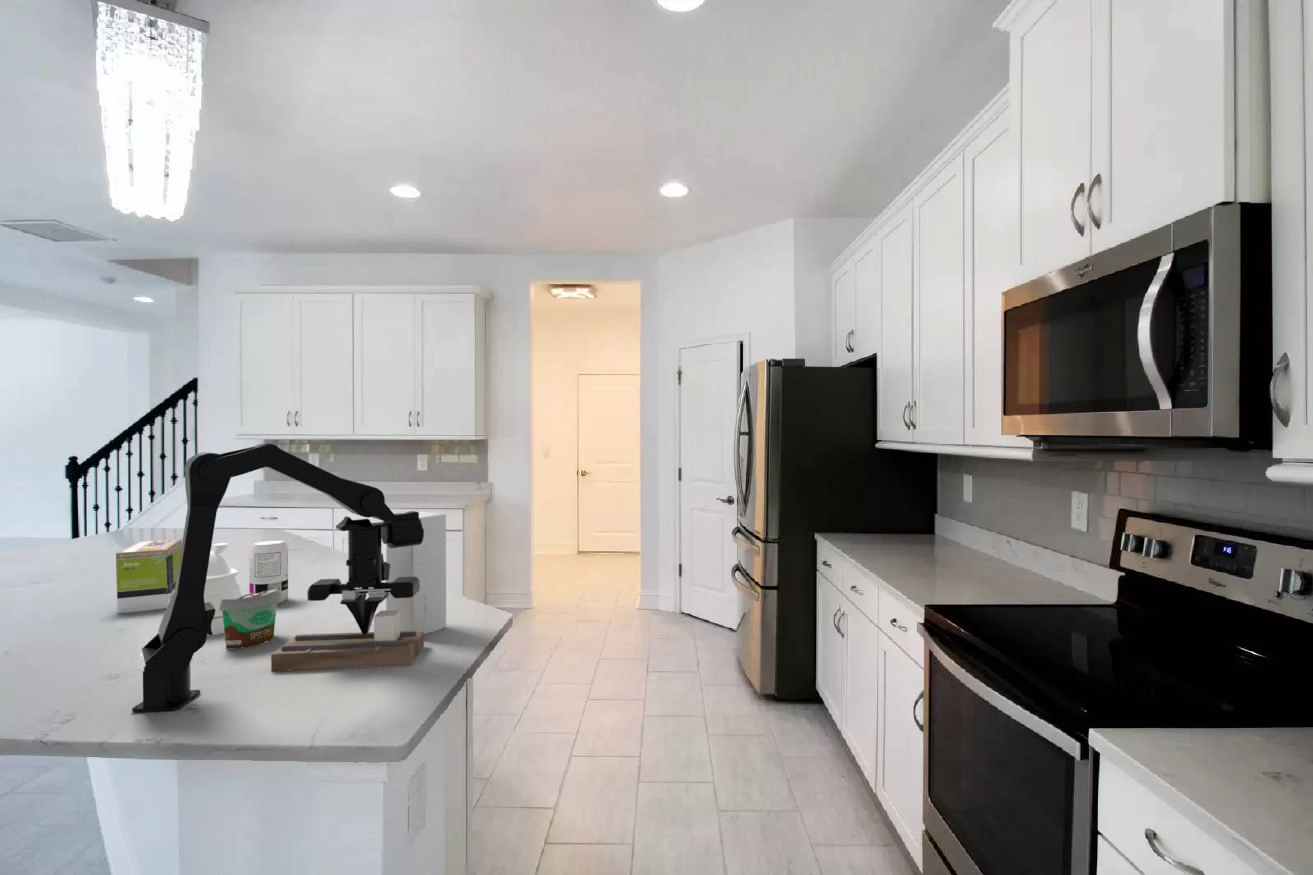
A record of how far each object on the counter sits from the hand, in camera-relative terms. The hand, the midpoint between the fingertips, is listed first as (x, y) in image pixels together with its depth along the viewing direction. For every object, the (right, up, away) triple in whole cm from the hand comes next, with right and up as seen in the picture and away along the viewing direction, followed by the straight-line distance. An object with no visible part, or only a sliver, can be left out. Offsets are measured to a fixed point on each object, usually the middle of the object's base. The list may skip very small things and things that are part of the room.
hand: (365, 633), depth 120 cm
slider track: (-2, -5, 0) cm, 5 cm away
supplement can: (-42, -4, +38) cm, 57 cm away
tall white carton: (+3, -5, +17) cm, 18 cm away
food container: (-26, -5, +9) cm, 28 cm away
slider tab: (+4, -1, 0) cm, 4 cm away
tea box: (-70, -4, +36) cm, 79 cm away
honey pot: (-42, -5, +18) cm, 46 cm away
